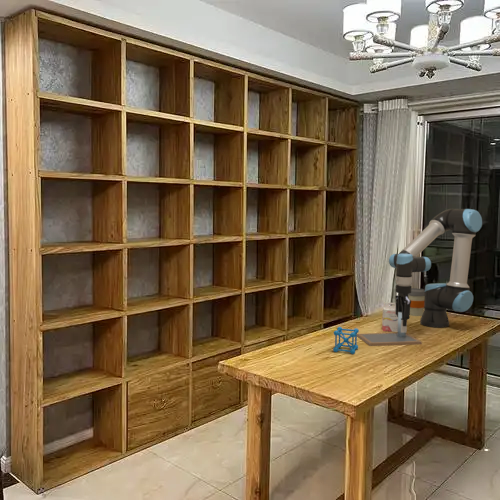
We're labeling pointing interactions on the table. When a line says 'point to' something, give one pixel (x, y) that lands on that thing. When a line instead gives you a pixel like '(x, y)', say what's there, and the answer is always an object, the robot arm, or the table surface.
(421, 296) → the reusable coffee cup
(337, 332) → the molecular structure
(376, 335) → the slate board
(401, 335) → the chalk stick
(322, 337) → the table surface
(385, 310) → the ink cartridge box
